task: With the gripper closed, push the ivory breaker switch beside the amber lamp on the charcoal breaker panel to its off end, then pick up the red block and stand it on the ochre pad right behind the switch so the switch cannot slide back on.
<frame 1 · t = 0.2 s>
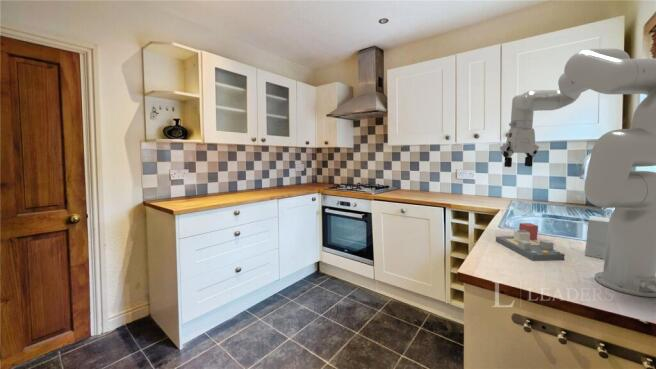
hand: (518, 166, 116), 30 cm above the counter, tool pointing down, fingers open, 9 cm apart
small box: (597, 255, 97), on the counter
breaker switch: (521, 235, 105), point 4 cm above the counter, slide at 7.0 cm
red block: (527, 238, 116), on the counter
breaker panel: (526, 249, 103), on the counter
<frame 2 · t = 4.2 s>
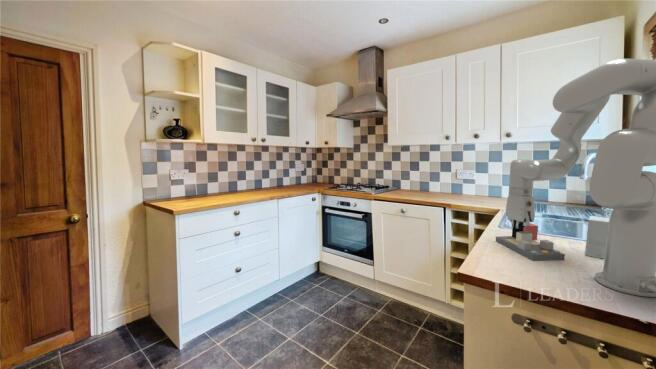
hand: (517, 237, 108), 3 cm above the counter, tool pointing down, fingers closed
breaker switch: (524, 236, 104), point 4 cm above the counter, slide at 5.7 cm, touching gripper
everything else where it was.
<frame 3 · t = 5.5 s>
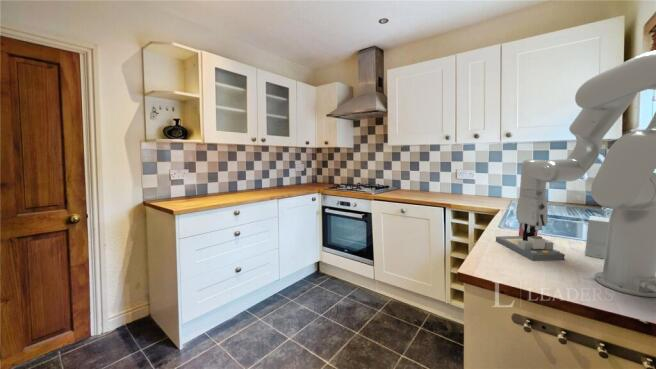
hand: (528, 241, 102), 3 cm above the counter, tool pointing down, fingers closed
breaker switch: (536, 242, 98), point 4 cm above the counter, slide at -0.1 cm, touching gripper
everything else where it was.
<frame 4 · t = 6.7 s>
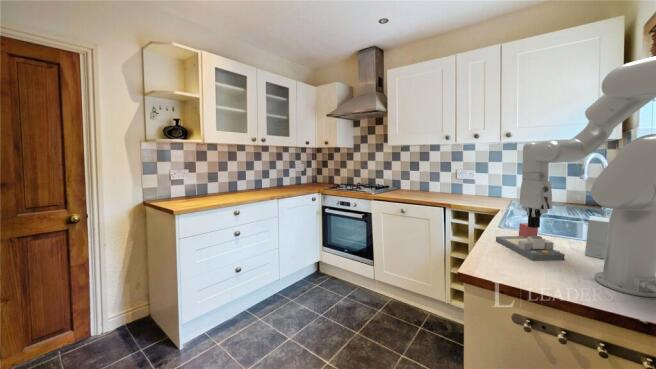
hand: (533, 227, 100), 9 cm above the counter, tool pointing down, fingers closed
breaker switch: (535, 241, 98), point 4 cm above the counter, slide at 0.0 cm
everything else where it was.
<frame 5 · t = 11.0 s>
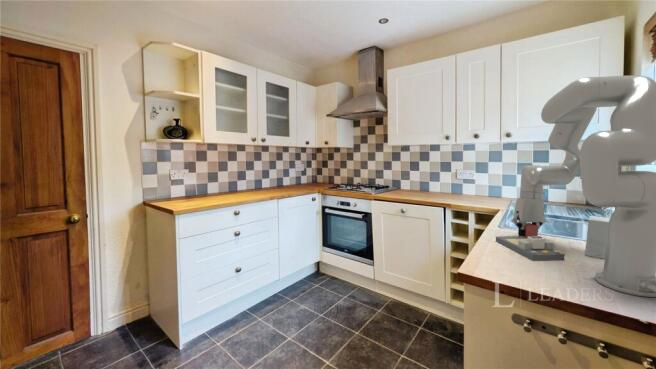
hand: (527, 237, 116), 0 cm above the counter, tool pointing down, fingers closed on red block, 4 cm apart
red block: (527, 238, 116), on the counter, touching gripper
everything else where it was.
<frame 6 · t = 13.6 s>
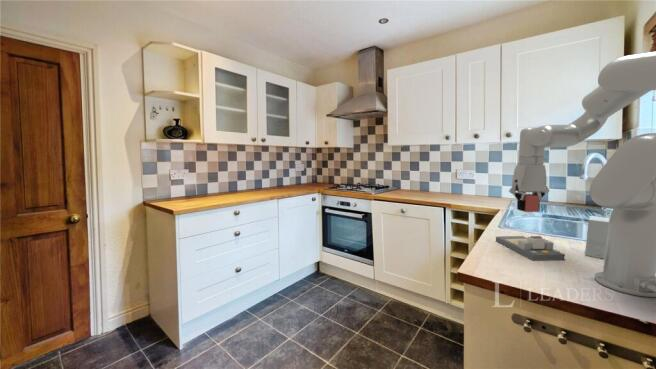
hand: (527, 209, 103), 15 cm above the counter, tool pointing down, fingers closed on red block, 4 cm apart
red block: (527, 210, 103), point 15 cm above the counter, touching gripper
everything else where it was.
when the fingers open (4 cm above the counter, at t = 16.3 s): red block stays where it is, resting on breaker panel.
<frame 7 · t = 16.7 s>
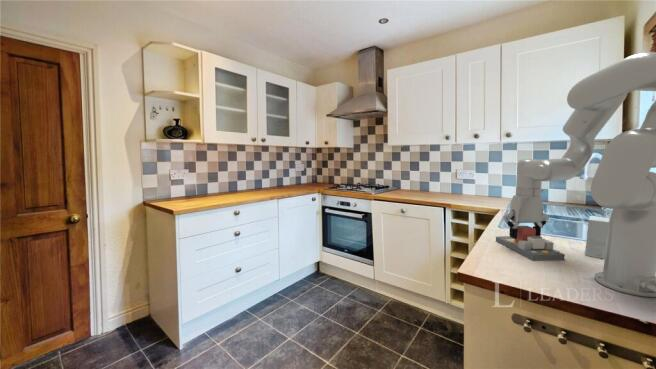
hand: (524, 237, 104), 4 cm above the counter, tool pointing down, fingers open, 8 cm apart
red block: (524, 242, 104), point 2 cm above the counter, touching breaker panel
everything else where it was.
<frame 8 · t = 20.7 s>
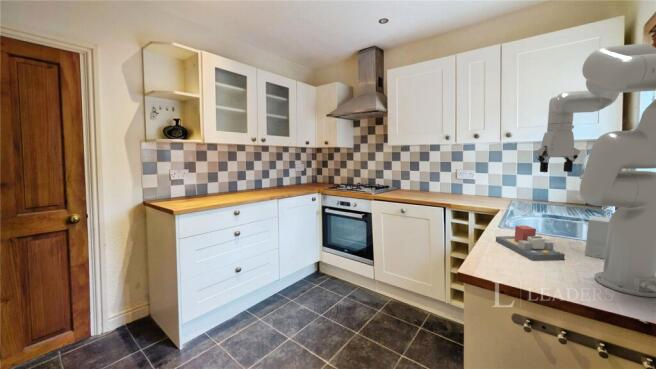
hand: (555, 171, 110), 28 cm above the counter, tool pointing down, fingers open, 9 cm apart
nothing on the counter moved.
at the end: breaker switch slide at 0.0 cm; red block 0.5 cm from the target spot on the breaker panel, point 2.2 cm above the breaker panel's base; red block tilted 0° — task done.
